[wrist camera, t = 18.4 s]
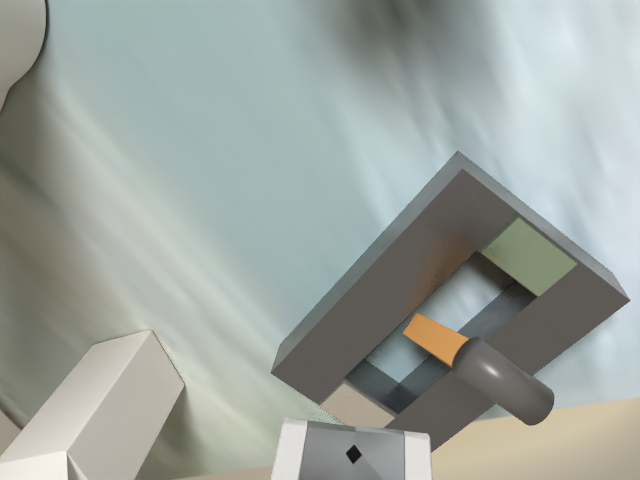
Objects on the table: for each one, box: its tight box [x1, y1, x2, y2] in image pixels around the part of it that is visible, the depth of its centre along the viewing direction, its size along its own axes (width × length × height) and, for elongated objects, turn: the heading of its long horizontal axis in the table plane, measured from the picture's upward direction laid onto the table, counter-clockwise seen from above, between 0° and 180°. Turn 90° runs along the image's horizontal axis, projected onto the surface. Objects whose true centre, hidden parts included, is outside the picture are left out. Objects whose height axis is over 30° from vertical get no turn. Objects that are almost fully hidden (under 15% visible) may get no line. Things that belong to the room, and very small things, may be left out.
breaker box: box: [271, 151, 630, 453], centre depth 45 cm, size 24×16×4 cm, turn 144°
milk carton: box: [0, 330, 184, 480], centre depth 46 cm, size 7×7×19 cm
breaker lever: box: [403, 313, 554, 425], centre depth 37 cm, size 3×6×12 cm, turn 55°
